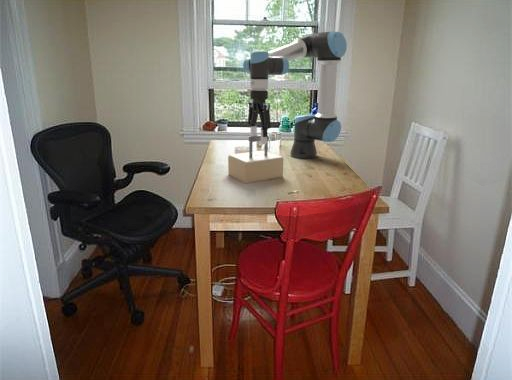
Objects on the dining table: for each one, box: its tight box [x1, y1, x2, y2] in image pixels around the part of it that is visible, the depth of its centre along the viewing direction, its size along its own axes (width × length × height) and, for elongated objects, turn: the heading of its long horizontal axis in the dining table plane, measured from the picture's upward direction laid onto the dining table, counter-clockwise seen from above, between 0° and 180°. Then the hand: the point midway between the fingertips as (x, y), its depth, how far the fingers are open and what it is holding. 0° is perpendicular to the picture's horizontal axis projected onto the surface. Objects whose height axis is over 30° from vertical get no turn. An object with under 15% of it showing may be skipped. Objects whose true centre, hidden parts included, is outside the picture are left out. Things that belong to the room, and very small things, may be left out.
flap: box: [237, 134, 284, 163], centre depth 161 cm, size 19×8×10 cm, turn 121°
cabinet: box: [227, 150, 284, 185], centre depth 167 cm, size 20×16×10 cm
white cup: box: [234, 145, 249, 154], centre depth 181 cm, size 8×8×10 cm
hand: (258, 142), depth 161 cm, fingers open, 8 cm apart
